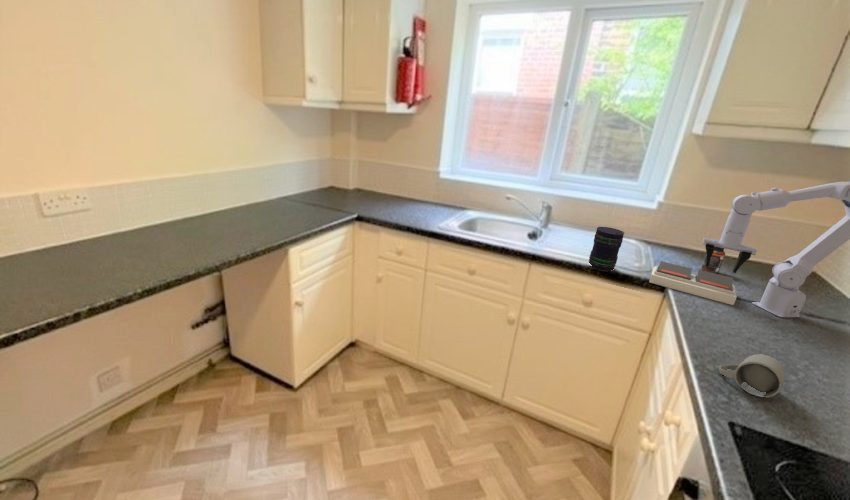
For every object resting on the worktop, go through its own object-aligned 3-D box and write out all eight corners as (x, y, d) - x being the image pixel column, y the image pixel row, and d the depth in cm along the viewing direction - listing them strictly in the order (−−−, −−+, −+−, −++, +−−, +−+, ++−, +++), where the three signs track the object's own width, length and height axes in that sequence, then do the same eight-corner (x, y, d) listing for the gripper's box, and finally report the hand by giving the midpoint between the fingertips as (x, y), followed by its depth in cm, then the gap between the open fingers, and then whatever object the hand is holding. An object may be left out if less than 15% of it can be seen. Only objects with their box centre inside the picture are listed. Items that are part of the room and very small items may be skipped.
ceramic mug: (779, 390, 85) (792, 360, 82) (773, 405, 79) (787, 374, 77) (722, 366, 92) (732, 338, 90) (712, 378, 87) (724, 349, 84)
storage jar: (582, 262, 153) (590, 226, 148) (601, 261, 157) (610, 226, 152) (600, 272, 145) (610, 234, 140) (620, 270, 148) (630, 234, 143)
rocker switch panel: (731, 293, 136) (735, 283, 135) (733, 305, 126) (737, 294, 125) (652, 273, 149) (655, 263, 147) (648, 282, 139) (652, 272, 138)
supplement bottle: (721, 275, 154) (731, 248, 150) (705, 272, 155) (714, 246, 151) (713, 269, 160) (723, 244, 156) (698, 267, 160) (707, 242, 157)
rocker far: (691, 271, 139) (692, 268, 139) (689, 281, 134) (690, 278, 134) (659, 263, 144) (660, 260, 144) (656, 273, 140) (657, 270, 139)
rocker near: (731, 280, 133) (733, 277, 132) (730, 292, 128) (731, 289, 128) (697, 272, 138) (698, 269, 137) (695, 283, 134) (696, 280, 133)
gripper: (760, 233, 126) (745, 271, 131) (707, 224, 134) (695, 260, 138) (763, 238, 121) (747, 277, 125) (708, 227, 128) (695, 265, 132)
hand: (720, 268), depth 131 cm, fingers open, 7 cm apart
